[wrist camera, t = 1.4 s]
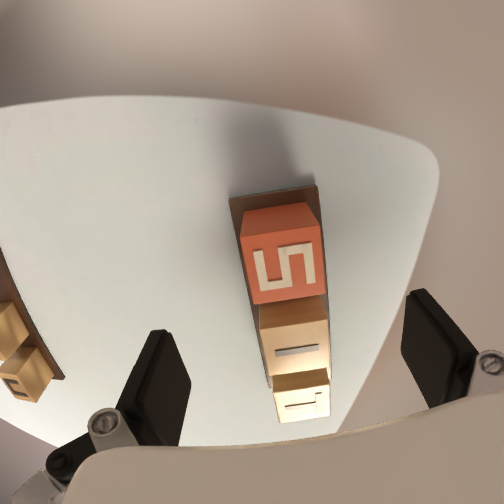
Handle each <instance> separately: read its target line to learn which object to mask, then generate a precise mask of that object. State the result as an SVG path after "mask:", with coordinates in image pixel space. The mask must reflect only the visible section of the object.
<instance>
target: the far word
mask: <svg viewBox="0 0 504 504" xmlns="http://www.w3.org/2000/svg"><path fill="white" fill-rule="evenodd" d="M0 360H1V361H5V362H4V363H3V364H2V365H1V367H0V378H1V379H2V380H3V382H4V383H5V385H6V386H7V387H8V389H9V390H10V391H11V393H12V394H13V395H14V397H15V398H17V399H21V400H25V401H30V402H34V403H37V401H38V399H39V398H40V396H41V395H42V393H43V391H44V390H45V388H46V387H47V385H48V384H49V382H50V380H51V379H56V380H64V378H65V376H64V375H63V373H62V372H61V370H60V368H59V367H58V365H57V364H56V362H55V360H54V359H53V357H52V355H51V354H50V352H49V350H48V349H47V347H46V345H45V344H44V342H43V340H42V338H41V336H40V335H39V333H38V331H37V329H36V327H35V325H34V324H33V322H32V320H31V318H30V316H29V314H28V312H27V310H26V308H25V306H24V304H23V301H22V299H21V297H20V295H19V293H18V291H17V288H16V286H15V284H14V282H13V279H12V277H11V274H10V272H9V270H8V267H7V265H6V262H5V260H4V257H3V254H2V252H1V249H0Z"/></svg>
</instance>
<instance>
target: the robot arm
mask: <svg viewBox="0 0 504 504" xmlns="http://www.w3.org/2000/svg"><path fill="white" fill-rule="evenodd" d="M401 354H402V356H403V358H404V360H405V362H406V364H407V366H408V367H409V369H410V371H411V373H412V375H413V377H414V379H415V381H416V383H417V384H418V387H419V389H420V391H421V392H422V395H423V396H424V399H425V401H426V402H427V405H428V407H429V409H428V410H425V411H422V412H418V413H415V414H411V415H409V416H405V417H401V418H398V419H394V420H391V421H387V422H383V423H380V424H376V425H372V426H367V427H364V428H359V429H354V430H349V431H345V432H340V433H335V434H329V435H324V436H318V437H312V438H305V439H298V440H290V441H282V442H273V443H263V444H251V445H235V446H197V447H179V446H178V444H179V440H180V435H181V430H182V426H183V421H184V417H185V412H186V408H187V404H188V399H189V395H190V390H191V380H190V377H189V375H188V373H187V370H186V368H185V366H184V363H183V361H182V358H181V356H180V354H179V351H178V349H177V346H176V344H175V341H174V338H173V336H172V334H171V333H170V332H169V333H168V332H167V331H166V330H165V329H162V330H152V331H151V332H150V334H149V336H148V338H147V340H146V342H145V344H144V347H143V349H142V351H141V353H140V355H139V357H138V360H137V362H136V364H135V365H134V367H133V369H132V371H131V374H130V376H129V378H128V380H127V382H126V385H125V387H124V389H123V391H122V394H121V396H120V398H119V401H118V403H117V405H116V408H115V409H114V408H104V409H101V410H99V411H97V412H96V413H94V414H93V415H92V416H91V418H90V419H89V421H88V425H87V427H88V432H87V433H86V434H84V435H82V436H80V437H78V438H77V439H75V440H73V441H71V442H69V443H67V444H65V445H64V446H62V447H60V448H58V449H56V450H54V451H53V452H52V453H51V454H50V455H49V456H48V458H47V460H46V470H44V471H43V470H42V469H40V470H39V471H38V472H37V473H36V474H35V475H34V476H33V477H31V478H30V479H29V480H28V481H27V482H26V483H25V484H23V485H22V486H21V487H20V488H19V489H18V490H17V491H16V492H15V493H14V494H13V495H12V498H11V504H504V354H503V353H501V352H499V351H496V350H486V351H483V352H481V353H479V352H478V351H477V350H476V348H475V347H474V346H473V345H472V343H471V342H470V341H469V340H468V338H467V337H466V336H465V335H464V333H463V332H462V331H461V330H460V329H459V327H458V326H457V325H456V324H455V322H453V320H452V319H451V318H450V317H449V315H448V314H447V313H446V312H445V311H444V310H443V308H442V307H441V306H440V305H439V304H438V303H437V302H436V300H435V299H434V298H433V297H432V296H431V295H430V294H429V293H428V292H427V290H426V289H424V288H422V289H418V290H413V291H411V292H410V295H408V296H407V297H406V307H405V316H404V326H403V334H402V342H401Z"/></svg>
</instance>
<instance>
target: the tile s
mask: <svg viewBox="0 0 504 504" xmlns="http://www.w3.org/2000/svg"><path fill="white" fill-rule="evenodd" d="M240 242H241V246H242V251H243V256H244V261H245V266H246V270H247V275H248V280H249V285H250V290H251V294H252V299H253V304H262V303H269V302H276V301H282V300H289V299H295V298H302V297H308V296H314V295H320V294H325V293H326V289H325V276H324V264H323V252H322V242H321V232H320V225H319V223H318V221H317V220H316V218H315V216H314V215H313V213H312V211H311V210H310V208H309V206H308V205H307V203H306V202H300V203H293V204H287V205H280V206H274V207H268V208H262V209H256V210H250V211H244V215H243V221H242V227H241V233H240Z"/></svg>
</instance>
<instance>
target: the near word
mask: <svg viewBox="0 0 504 504" xmlns="http://www.w3.org/2000/svg"><path fill="white" fill-rule="evenodd" d="M300 202H306V203H307V205H308V206H309V208H310V210H311V211H312V213H313V215H314V216H315V218H316V220H317V221H318V223H319V225H320V232H321V242H322V252H323V264H324V276H325V289H326V293H325V294H320V295H314V296H308V297H302V298H295V299H289V300H282V301H276V302H269V303H262V304H253V299H252V294H251V290H250V285H249V280H248V275H247V270H246V266H245V261H244V256H243V251H242V246H241V242H240V233H241V227H242V221H243V215H244V211H250V210H256V209H262V208H268V207H274V206H280V205H287V204H293V203H300ZM229 206H230V211H231V215H232V220H233V225H234V230H235V235H236V239H237V244H238V249H239V254H240V258H241V263H242V268H243V272H244V277H245V282H246V286H247V291H248V296H249V300H250V305H251V310H252V314H253V319H254V323H255V328H256V332H257V337H258V342H259V346H260V351H261V355H262V360H263V364H264V369H265V373H266V377H267V382H268V386H269V388H273V396H274V400H275V405H276V410H277V414H278V419H279V422H280V423H284V422H292V421H299V420H306V419H313V418H319V417H325V416H330V381H329V379H331V344H330V321H329V303H328V288H327V274H326V262H325V250H324V240H323V230H322V220H321V211H320V203H319V194H318V187H317V186H316V185H311V186H304V187H298V188H291V189H284V190H278V191H272V192H265V193H259V194H253V195H247V196H242V197H236V198H230V199H229Z"/></svg>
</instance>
